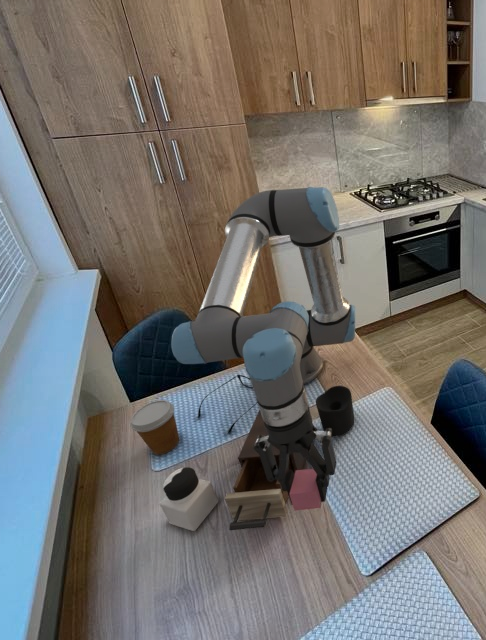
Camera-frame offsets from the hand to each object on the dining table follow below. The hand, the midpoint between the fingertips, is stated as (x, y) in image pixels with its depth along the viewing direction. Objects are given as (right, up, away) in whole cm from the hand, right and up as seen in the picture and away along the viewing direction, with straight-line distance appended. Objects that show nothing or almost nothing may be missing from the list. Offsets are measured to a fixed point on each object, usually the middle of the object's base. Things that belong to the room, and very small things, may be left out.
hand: (309, 496), depth 80 cm
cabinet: (-16, -4, +25) cm, 29 cm away
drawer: (-15, -9, +13) cm, 22 cm away
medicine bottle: (-30, -11, +12) cm, 35 cm away
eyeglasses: (-36, +3, +41) cm, 54 cm away
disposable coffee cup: (-49, -3, +29) cm, 57 cm away
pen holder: (-3, 0, +34) cm, 34 cm away
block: (0, 0, 0) cm, 0 cm away
